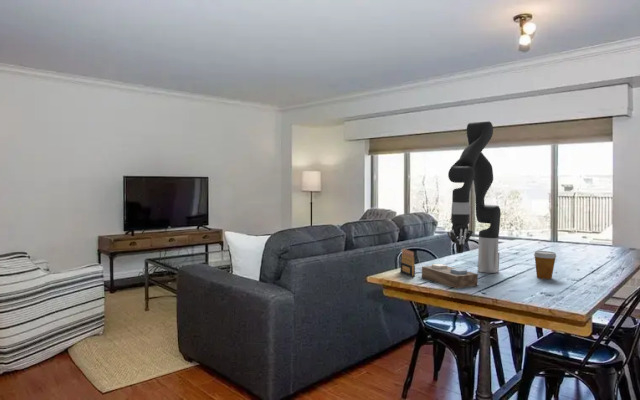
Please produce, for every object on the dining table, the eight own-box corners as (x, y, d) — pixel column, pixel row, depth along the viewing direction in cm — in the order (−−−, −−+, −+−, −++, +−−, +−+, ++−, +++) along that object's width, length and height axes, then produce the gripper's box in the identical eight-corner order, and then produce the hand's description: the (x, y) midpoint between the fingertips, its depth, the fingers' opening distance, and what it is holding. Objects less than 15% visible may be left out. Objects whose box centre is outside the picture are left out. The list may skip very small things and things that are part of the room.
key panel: (441, 275, 207) (442, 264, 207) (477, 285, 188) (477, 274, 187) (421, 277, 202) (422, 266, 202) (456, 288, 182) (456, 276, 182)
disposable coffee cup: (554, 276, 208) (555, 251, 207) (556, 280, 199) (557, 254, 199) (532, 274, 212) (533, 250, 211) (533, 278, 203) (534, 252, 203)
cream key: (439, 272, 203) (440, 263, 203) (447, 274, 199) (447, 265, 199) (431, 273, 201) (432, 264, 201) (439, 275, 197) (439, 266, 196)
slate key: (458, 277, 192) (459, 268, 192) (466, 279, 188) (467, 270, 188) (450, 278, 190) (450, 269, 190) (458, 280, 186) (458, 271, 186)
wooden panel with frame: (414, 276, 203) (415, 251, 203) (411, 277, 203) (412, 251, 202) (403, 272, 213) (404, 247, 213) (400, 272, 213) (400, 247, 212)
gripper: (465, 211, 194) (464, 250, 195) (442, 212, 188) (441, 252, 189) (478, 212, 187) (477, 252, 188) (455, 214, 181) (454, 255, 182)
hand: (459, 252), depth 189 cm, fingers closed
